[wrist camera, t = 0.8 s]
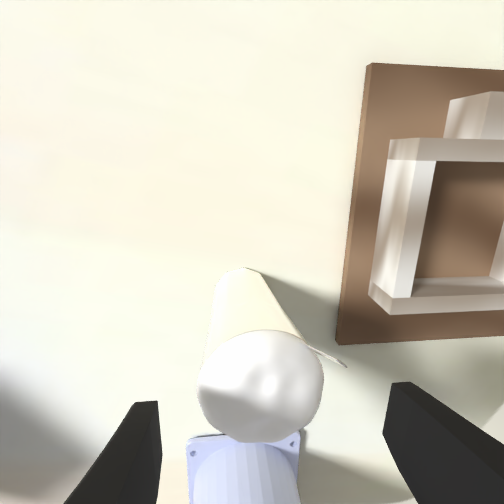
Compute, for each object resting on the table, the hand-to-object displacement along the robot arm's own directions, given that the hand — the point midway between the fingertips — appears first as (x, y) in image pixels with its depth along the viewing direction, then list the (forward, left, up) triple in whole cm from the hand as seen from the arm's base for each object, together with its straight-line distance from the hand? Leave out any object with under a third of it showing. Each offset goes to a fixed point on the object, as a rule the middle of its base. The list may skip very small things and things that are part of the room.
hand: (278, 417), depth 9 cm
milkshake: (0, 0, -10) cm, 10 cm away
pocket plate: (+4, -12, -10) cm, 16 cm away
